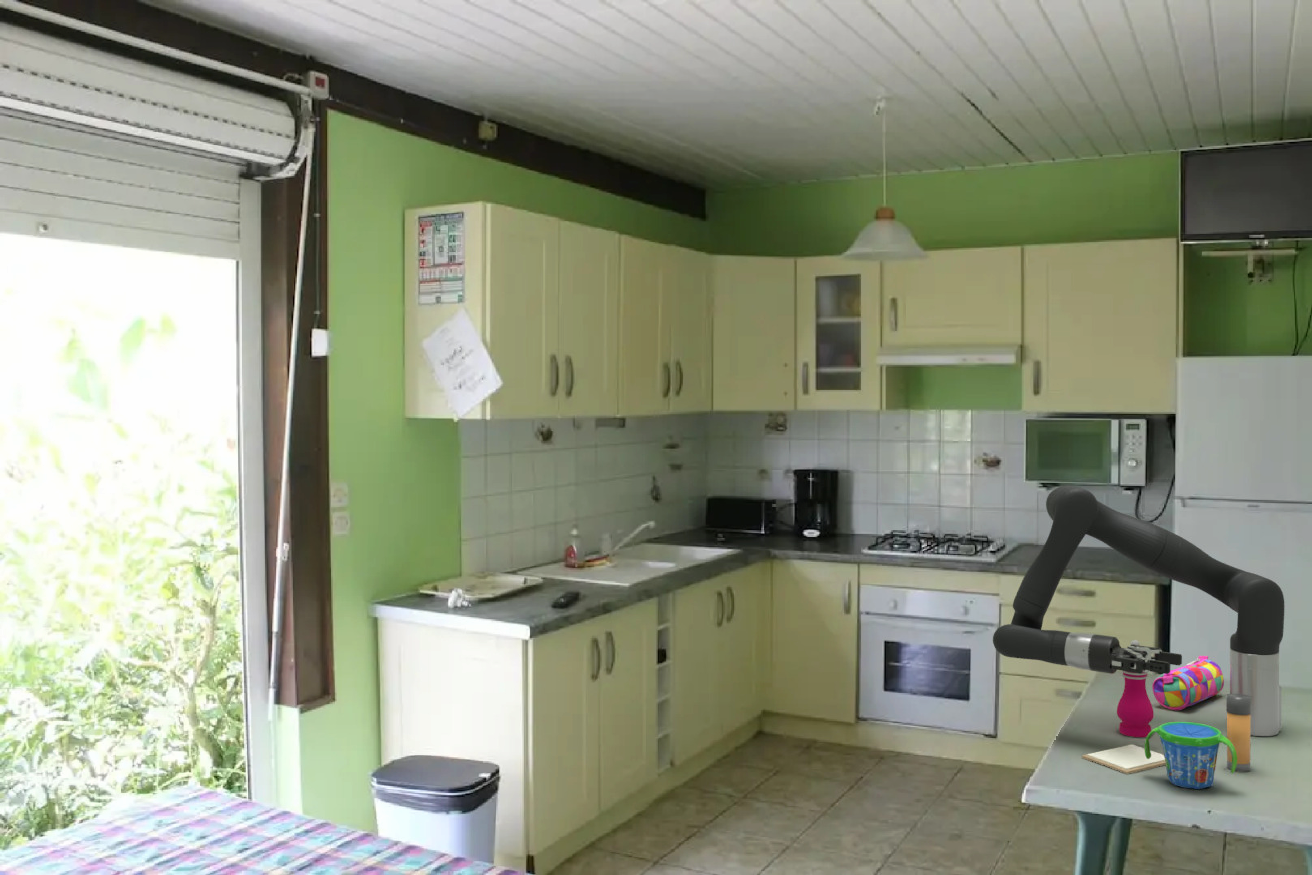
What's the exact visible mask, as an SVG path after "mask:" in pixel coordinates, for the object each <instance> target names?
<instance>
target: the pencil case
mask: <svg viewBox="0 0 1312 875" xmlns="http://www.w3.org/2000/svg"><path fill="white" fill-rule="evenodd" d="M1224 678H1225V677H1224V674H1223V672H1222V669H1221V667H1220V666H1219V665H1218V663H1216V662H1215V661H1212V660H1210V659H1209V655H1198V657H1197V658H1196V659H1194V660H1193V661H1190V662H1189V663H1186V665H1183V666H1182V667H1181V666H1180V667H1178V668H1175V669H1172V670H1171V669H1170V673H1168V674H1164V673H1161V674H1160V675H1159V676H1157V677H1156V678H1155V679H1154V680H1153V681H1152V693H1153V697H1154V698H1155V700H1156V701H1157V703H1158V704H1159V705H1161V706H1162V707H1164V708H1165V709H1167V710H1171V711H1181V710H1184V709H1185V708H1187V707H1191V706H1194V705H1196V704H1199V703H1201V702H1203V701H1205V700H1208V699H1209V698H1212V697H1214V696H1216V695H1217V694H1219V693H1220V692H1221V691H1222V690H1223V689H1224V684H1225V679H1224Z"/></svg>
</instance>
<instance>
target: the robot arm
mask: <svg viewBox="0 0 1312 875" xmlns="http://www.w3.org/2000/svg"><path fill="white" fill-rule="evenodd" d="M1045 507H1046V508H1045V509H1046V511H1047V514H1048V516H1049V517H1050V519H1051V520H1052V523H1051V524H1052V525H1051V528H1050V531H1049V534H1048V537H1046V538H1047V539H1046V541H1045V543H1044V545H1043V546H1042V549H1040V552H1039V553H1038V555H1037V556H1036V558H1035V559H1034V560H1033V562H1032V563H1031V565H1029V567H1028V569H1027V571H1026V573H1025V574H1024V577H1023V578H1022V580H1021V583H1020V585H1019V587H1018V590H1017V592H1016V595H1015V597H1014V599H1013V601H1012V609H1013V610H1014V613H1013V617H1012V619H1011V622H1010V624H1009V623H1008V624H1004V625H1001V626H999V627H998V628H997V629H995V632H994V634H993V635H992V643H993V646H994V648H995V650H996V651H997V652H998V653H999V654H1000V655H1002V656H1004V657H1007V658H1012V659H1020V660H1021V659H1023V660H1034V661H1041V662H1045V663H1049V664H1053V665H1059V666H1065V667H1066V666H1067V667H1071V668H1075V669H1080V670H1085V671H1092V672H1099V673H1105V674H1110V675H1113V674H1115V673H1116V672H1117V671H1122V672H1123V671H1128V672H1134V673H1138V674H1141V673H1143V672H1148V673H1151V672H1152V673H1159V674H1168V673H1170V670H1171V666H1173V665H1174V666H1182V664H1183V655H1182V654H1180V653H1174V652H1167V651H1163V650H1162V648H1161V647H1154V646H1145V645H1131V644H1130V645H1127V647H1122V646H1121V644H1120V641H1119V639H1118V638H1117V637H1116V636H1110V635H1103V634H1095V633H1088V632H1070V631H1062V630H1056V629H1042V627H1043V622H1044V617H1045V615H1046V613H1047V611H1048V609H1049V606H1050V605H1051V602H1052V600H1053V597H1054V595H1055V592H1056V590H1057V588H1058V586H1059V584H1060V581H1061V579H1062V577H1063V575H1064V572H1065V570H1066V569H1067V567H1068V565H1069V563H1070V561H1071V559H1072V557H1073V555H1074V554H1075V552H1076V550H1077V548H1078V547H1079V546H1080V544H1081V542H1082V541H1083V539H1084V537H1085V536H1089V537H1091V538H1094V539H1096V540H1098V541H1100V542H1102V543H1103V544H1105V545H1107V546H1108V547H1109V548H1111V549H1113V550H1115V551H1116V552H1118V553H1119V554H1121V555H1122V556H1125V557H1126V558H1127V559H1130V560H1131V561H1133V562H1135V563H1136V564H1138V565H1139V566H1142V567H1144V568H1145V569H1147V570H1149V571H1152V572H1153V573H1156V574H1158V575H1159V576H1162V577H1165V578H1167V579H1170V580H1171V581H1175V582H1177V583H1181V584H1183V585H1187V586H1190V587H1193V588H1195V589H1198V590H1200V591H1202V592H1203V593H1206V594H1207V595H1209V596H1210V597H1212V598H1214V599H1216V600H1218V601H1219V602H1221V603H1222V604H1224V605H1225V606H1227V607H1229V609H1231V610H1232V611H1234V612H1236V613H1237V625H1236V631H1235V633H1232V634H1231V636H1230V637H1229V638H1230V639H1229V694H1244V695H1248V696H1250V697H1251V721H1250V736H1254V737H1255V736H1257V737H1272V736H1277V735H1278V734H1280V731H1282V686H1281V685H1280V645H1281V643H1282V640H1283V637H1284V625H1285V624H1284V623H1285V597H1284V594H1283V593H1284V592H1283V591H1282V588H1281V587H1280V586H1279V585H1278V583H1276V582H1275V581H1273V580H1271V579H1269V578H1267V577H1265V576H1261V575H1259V574H1256V573H1254V572H1253V573H1252V572H1249V571H1245V570H1242V569H1240V568H1238V567H1234V566H1232V565H1229V564H1227V563H1225V562H1222V561H1220V560H1217V559H1215V558H1213V557H1212V556H1210V555H1209V554H1207V552H1205V551H1204V550H1202V549H1201V548H1200V547H1198V546H1197V545H1195V543H1192V542H1190V541H1189V540H1187V539H1186V538H1183V537H1182V536H1180V535H1178V534H1176V533H1174V532H1171V531H1170V530H1168V529H1166V528H1163V527H1161V526H1159V525H1157V524H1154V523H1152V522H1149V521H1146V520H1143V519H1141V518H1137V517H1135V516H1131V515H1128V514H1126V513H1122V512H1120V511H1118V510H1116V509H1113V508H1111V507H1109V506H1107V505H1106V504H1104V503H1103V502H1100V501H1098V500H1097V498H1096V496H1095V495H1094V493H1092V492H1091V491H1090V490H1088V489H1086V488H1082V487H1080V486H1076V485H1071V484H1069V485H1063V486H1062V485H1061V486H1058V487H1057V488H1055V489H1053V490H1051V492H1049V494H1048V495H1047V497H1046V501H1045ZM1152 654H1154V656H1152Z"/></svg>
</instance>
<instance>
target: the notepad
mask: <svg viewBox="0 0 1312 875" xmlns="http://www.w3.org/2000/svg"><path fill="white" fill-rule="evenodd" d="M1144 748H1145V747H1141V746H1139V745H1135V744H1132V743H1131V744H1128V745H1122V746H1118V747H1113V748H1108V749H1104V750H1101V751H1100V750H1099V751H1096V752H1091V753H1086V754H1082V755H1081V759H1084V760H1087V761H1088V762H1089V761H1090V762H1092V761H1093V762H1092V763H1095V762H1096V763H1095V764H1097V763H1099V764H1098V765H1100V764H1101V766H1103V765H1105V766H1104V767H1106V766H1107V767H1106V768H1108V767H1110V768H1109V769H1111V768H1112V769H1111V770H1114V769H1115V771H1116V770H1118V771H1117V772H1119V771H1120V773H1122V772H1123V773H1122V774H1125V775H1129V774H1130V773H1131V774H1135V773H1139V772H1142V771H1141V770H1143V771H1147V769H1148V770H1151V769H1155V768H1159V766H1160V767H1163V766H1162V765H1164V766H1166V763H1165V757H1164V754H1161V753H1159V752H1156V751H1153V750H1150V752H1151V757H1150V758H1149V759H1147V758H1146V755H1145V749H1144ZM1138 771H1139V772H1138Z"/></svg>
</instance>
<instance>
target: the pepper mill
mask: <svg viewBox="0 0 1312 875" xmlns="http://www.w3.org/2000/svg"><path fill="white" fill-rule="evenodd" d="M1130 645H1139V646H1141V644H1140V642H1139V641H1138V640H1137V639H1132V640H1131V641H1130ZM1148 674H1149V672H1143V673H1141V674H1138V673H1134V672H1128V671H1122V676H1123V677H1124V688H1123V692H1122V695H1121V697H1120V699H1119V701H1118V704H1117V707H1116V714H1117V717H1118V718H1119V720H1120V721H1121V722H1119V725H1118V726H1119V729H1118V730H1119V733H1120V734H1122V735H1123V736H1127V737H1130V736H1132V737H1133V738H1147V736H1148V734H1149V733H1150V732H1151V731H1152V726H1151V724H1149V723H1151V722H1152V721H1153V719H1154V716H1155V714H1154V708H1153V705H1152V703H1151V700H1150V698H1149V696H1148V693H1147V688H1146V685H1147V684H1146V683H1147V682H1146V680H1147V679H1148V678H1149V676H1148ZM1132 737H1131V738H1132Z"/></svg>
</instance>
